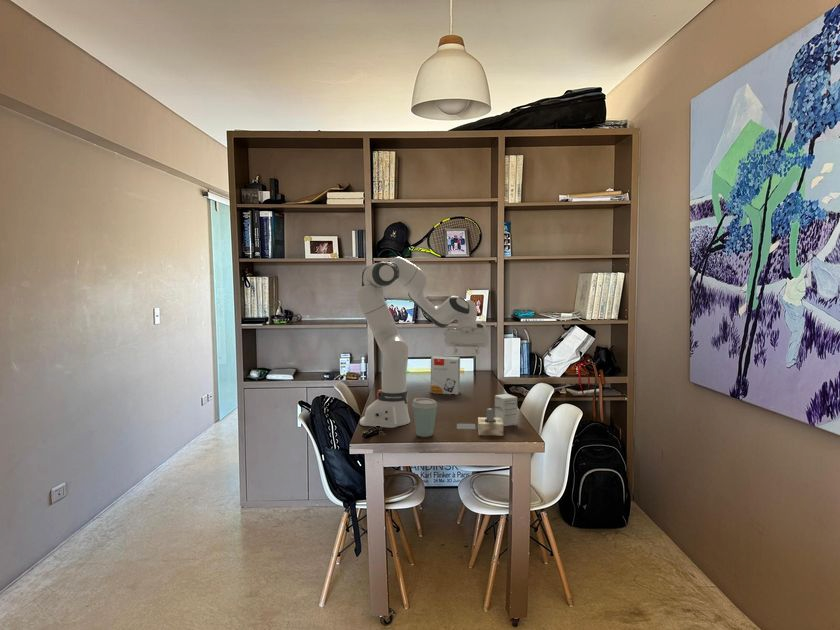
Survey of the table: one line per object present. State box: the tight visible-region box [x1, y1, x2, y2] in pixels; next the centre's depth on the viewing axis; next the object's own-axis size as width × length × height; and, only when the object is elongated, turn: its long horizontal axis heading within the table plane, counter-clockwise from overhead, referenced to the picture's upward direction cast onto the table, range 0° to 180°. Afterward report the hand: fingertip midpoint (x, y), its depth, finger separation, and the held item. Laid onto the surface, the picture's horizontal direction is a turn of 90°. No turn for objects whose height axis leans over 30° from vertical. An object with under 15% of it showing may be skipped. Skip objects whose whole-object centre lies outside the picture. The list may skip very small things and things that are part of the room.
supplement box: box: [494, 393, 518, 427], centre depth 235 cm, size 7×7×13 cm
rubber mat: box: [456, 423, 476, 430], centre depth 230 cm, size 8×8×1 cm
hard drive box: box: [430, 355, 461, 396], centre depth 296 cm, size 16×8×20 cm, turn 76°
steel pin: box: [486, 407, 495, 422], centre depth 222 cm, size 3×3×10 cm
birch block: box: [477, 416, 504, 437], centre depth 222 cm, size 10×10×5 cm
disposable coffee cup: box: [411, 397, 438, 438], centre depth 218 cm, size 11×11×15 cm
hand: (466, 353), depth 239 cm, fingers open, 8 cm apart
